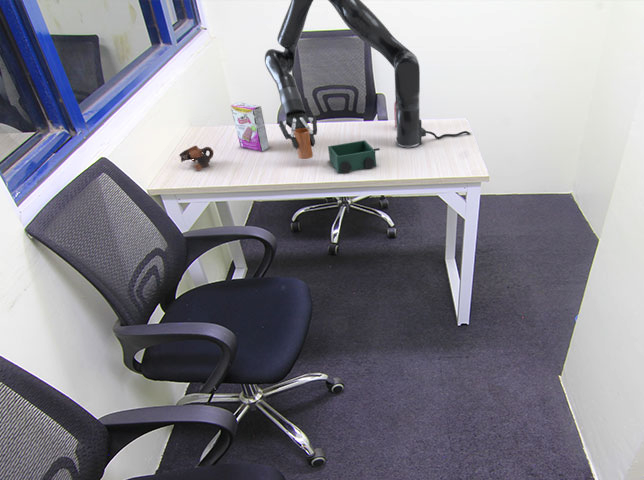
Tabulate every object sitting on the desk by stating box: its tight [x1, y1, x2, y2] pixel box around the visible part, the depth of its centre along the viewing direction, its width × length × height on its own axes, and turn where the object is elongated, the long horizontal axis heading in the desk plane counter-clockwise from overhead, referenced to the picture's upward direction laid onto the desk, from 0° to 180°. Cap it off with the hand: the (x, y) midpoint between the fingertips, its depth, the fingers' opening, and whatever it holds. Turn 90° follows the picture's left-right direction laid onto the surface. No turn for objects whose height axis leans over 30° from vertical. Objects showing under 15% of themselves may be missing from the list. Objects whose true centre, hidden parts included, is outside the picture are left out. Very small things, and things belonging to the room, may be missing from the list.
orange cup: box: [294, 128, 314, 160], centre depth 187 cm, size 5×5×10 cm
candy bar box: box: [230, 102, 270, 152], centre depth 200 cm, size 11×5×16 cm, turn 65°
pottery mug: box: [179, 145, 215, 172], centre depth 191 cm, size 12×10×8 cm
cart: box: [327, 139, 377, 174], centre depth 190 cm, size 15×12×6 cm
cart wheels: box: [340, 147, 381, 174], centre depth 192 cm, size 18×14×4 cm
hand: (305, 146), depth 186 cm, fingers closed on orange cup, 5 cm apart
